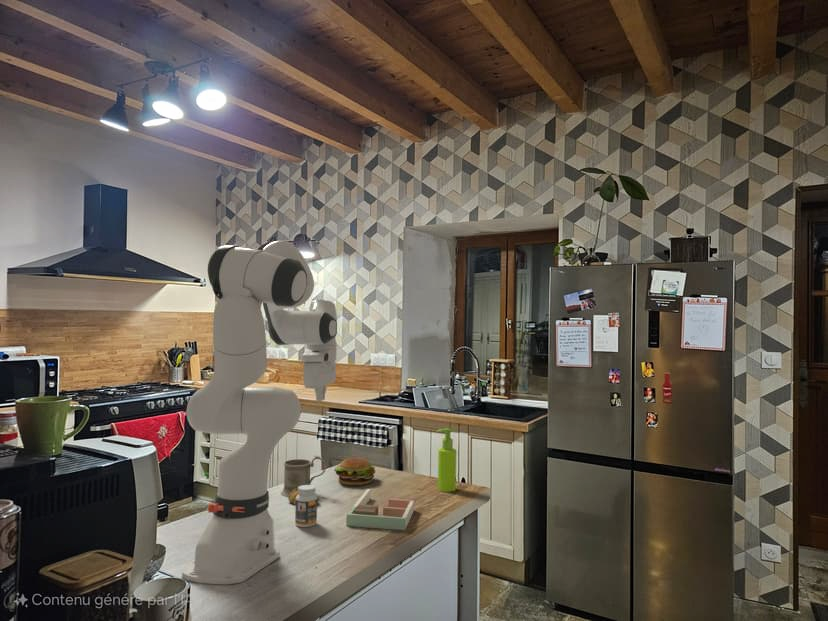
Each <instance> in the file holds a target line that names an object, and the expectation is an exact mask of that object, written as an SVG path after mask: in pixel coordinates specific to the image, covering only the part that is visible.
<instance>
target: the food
mask: <svg viewBox="0 0 828 621" xmlns="http://www.w3.org/2000/svg"><path fill="white" fill-rule="evenodd" d="M334 472H335V474H336V475H337V476H338V479H337V481H338V483H340V484H342V485H346V486H363V485H364V486H365V485H368V484H370V483H372V481H373V479H374V477H375V475H374V474H376V467H374V466H373V465H372V463H371V461H369V460H368V459H366V458H363V457H357V456H356V457H355V456H354V457H348V458H345V459H344V460H342V461H341V462H340V464H339V465H337V466H336V467H335V468H334Z"/></svg>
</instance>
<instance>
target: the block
mask: <svg viewBox="0 0 828 621" xmlns="http://www.w3.org/2000/svg"><path fill="white" fill-rule="evenodd" d="M354 514H364V515H377V516H379V505H374V504H366V505H362V504H359V505H358V507H357V508H356V509H355V512H354Z"/></svg>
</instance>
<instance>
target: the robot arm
mask: <svg viewBox="0 0 828 621" xmlns="http://www.w3.org/2000/svg"><path fill="white" fill-rule="evenodd" d="M207 276H208V280H209V284H210V286H211V288H212V291H213V294H214V295H215V297H217V298H218V301H217V302H216V304H215V306H214V309H213V310H214V311H213V317H212V318H213V319H212V320H213V321H212V344H213V355H214V363H213V364H214V365H213V366H214V370H213V373H212V376H211V378H210V380H209V381H208V382H207V383H206V384H205V385H204V386H203V387H201V388H200V389H197V390H196V391H195V392H194V393H193V394H192V395H191V397H190V398H189V399H188V403H187V406H186V412H185V414H186V418H187V422H188V423H189V426H190V427H191V428H192V429H193V430H194V431H196V432H200V433H205V434H211V435H246V438H247V439H246V442H245V443H244V444H242V445H241V446H238V447H236V448H234V449H232V450H230V451H229V452H227V453H226V454H224V455H223V456H222V457H221V459H220V461H219V463H218V471H217V472H218V475H217V493H216V495H215V497H214V498H215V499H214V501H213V502H210V503H209V504H208V507H207V511H208V513H211V514H212V516H211V518H210V520H209V521H208V523H207V525H206V527H205V528H204V530H203V532H202V534H201V536H200V538H199V540H198V542H197V543H196V546H195V553H194V557H193V559H192V560H191V561H190V563H188V564H187V565H186V567H185V568H184V569H183V571H182V572H181V573H182V574H181V577H182V578H183V579H185V580H187V581H189V582H190V581H191V582H195V583H199V584H209V585H211V584H212V585H232V584H238V583H239V584H240V583H243V582H245V581H246V580H248V579H250V577H252V576H254V575H255V574H256V573H258V572H259V571H261V570H262V569H264V568H265V567H267V566H268V565H270V564H272V563H273V562H274V561H275V560H277V559H278V558H280V557H281V553H280V551H279V550H278V549H277V548H276V547H275V526H274V518H272V516H271V515H270V513H269V510H268V508H269V506H270V505H269V503H270V502H269V501H270V496H269V494H270V492H269V491H268V474H269V467H270V460H271V456H272V454H273V451H274V449H275V448H276V446H277V444H278V443H279V442H280V441H281V439H282V438H283V437H284V436H285V435H287V433H289V432H291V431H292V430H293V429H294V428H295V427H296V425H297V424H298V423H299V420H300V418H301V414H302V405H301V402H300V399H299V397H298V396H297V394H296V392H294V391H293V390H291V389H286V388H282V387H276V386H275V387H274V386H251V385H254V384H255V383H257V381H259V380H260V379H261V378H262V377H263V375H264V374H265V373H266V370H267V368H268V357H267V354H268V353H267V352H268V351H267V338H266V335H267V333H266V327H265V320H264V316H263V312H262V307H263V311H264V314H265V318H266V321H267V324H268V335H269V337H270V339H271V340H272V341H273V342H274V343H275V344H276V345H278V346H289V345H305V346H306V349H305V351H304V353H303V354H302V355H301V362H303V369H302V370H303V372H302V373H303V385H304V387H305V389H313V390H314V392H315V399H316V400H315V401H316V402H322V401H324V400H325V399H326V392H327V388H328V385H330V384H333V383H335V382H336V379H337V364H336V361H337V340H336V336H337V334H338V320H337V318H338V316H337V309H336V304H335V303H334V302H332V301H329V300H324V299H316V300H313V301H311V302H310V304H309V308H308V310H288V309H293V308H298V307H300V306H302V305H303V304H306V302H307V301H308V300H309V299H310V298H311V297H312V294H313V292H314V289H315V288H314V287H315V282H314V280H315V279H314V276H313V274H312V271H311V267H309V264H308V262H307V261H306V258H305V257H304V256H303V254H302V253H301V252H300V250H299V249H298V248H297V247H296V246H295V245H294V244H292V243H291V242H289V241H286V240H276V241H272V242H270V243H269V244H267V245H266V246H265V247H264V248H263V249H261V250H260V249H256V248H249V247H241V246H239V245H221V246H219V247H218V248H216V250H215V251H214V252H213V253H212V254H211V256H210V258H209V260H208V263H207ZM286 309H287V310H286Z"/></svg>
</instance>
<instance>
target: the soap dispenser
mask: <svg viewBox="0 0 828 621" xmlns="http://www.w3.org/2000/svg"><path fill="white" fill-rule="evenodd" d="M453 431H454V430H453V429H452V428H439V429H437V430H436V432H437V433H439V434H440V433H443V432H444V434H445V436H444V438H442V445H441V446H442V447H441V448H438V456H437V458H438V462H437V463H438V465H437V490H438V491H439V492H442V491H444V493H452V492H451V491H453V492H455V491H456V490H457V489H456V488H457V485H456V484H457V482H456V481H457V479H456V477H457V476H456V475H457V449H456V448H453V445H454V442H453V441H454V440H453V438H451V433H452V432H453Z"/></svg>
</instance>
